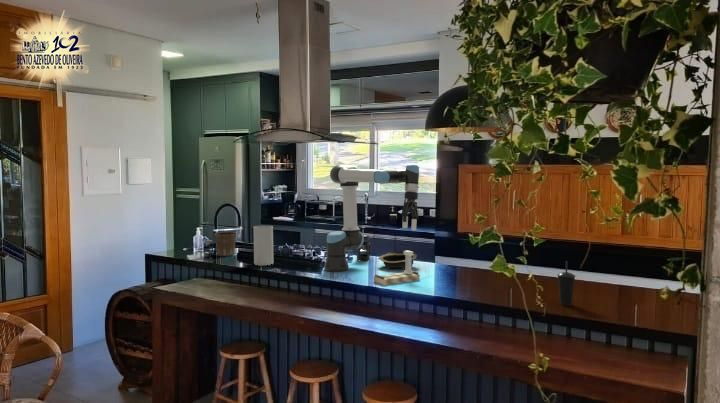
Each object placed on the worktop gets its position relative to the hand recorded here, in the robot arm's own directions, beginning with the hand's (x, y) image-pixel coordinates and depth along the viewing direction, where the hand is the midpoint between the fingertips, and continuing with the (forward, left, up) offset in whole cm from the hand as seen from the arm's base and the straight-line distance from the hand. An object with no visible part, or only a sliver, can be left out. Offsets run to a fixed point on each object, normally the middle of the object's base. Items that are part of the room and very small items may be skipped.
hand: (409, 229), depth 287 cm
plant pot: (-76, -131, -28) cm, 154 cm away
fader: (+2, -1, -25) cm, 25 cm away
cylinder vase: (-41, -94, -28) cm, 107 cm away
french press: (-59, -29, -28) cm, 72 cm away
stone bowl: (-33, -6, -28) cm, 44 cm away
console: (+7, -7, -28) cm, 30 cm away
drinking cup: (+54, +69, -28) cm, 92 cm away
